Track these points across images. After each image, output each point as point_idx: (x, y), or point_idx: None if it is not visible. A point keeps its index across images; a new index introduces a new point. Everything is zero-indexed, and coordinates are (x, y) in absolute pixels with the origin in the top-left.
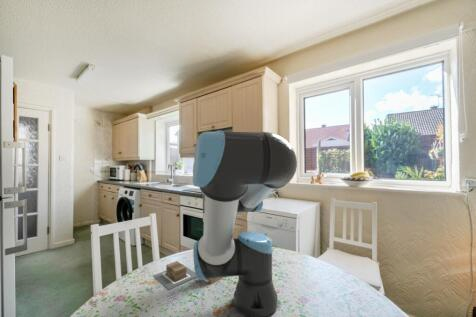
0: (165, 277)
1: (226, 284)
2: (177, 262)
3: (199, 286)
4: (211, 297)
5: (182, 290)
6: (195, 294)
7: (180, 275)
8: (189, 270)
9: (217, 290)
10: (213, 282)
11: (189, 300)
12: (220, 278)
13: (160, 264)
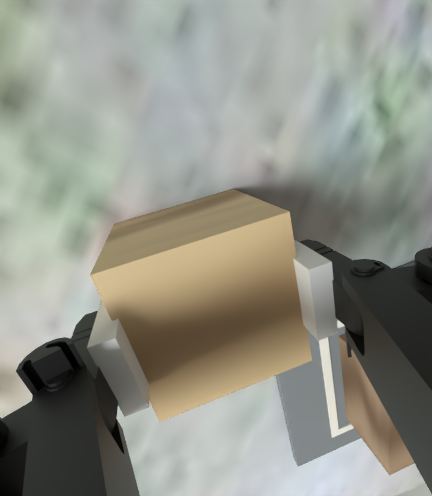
0: None
1: (114, 115)
2: (396, 457)
3: (310, 205)
4: (305, 6)
5: (404, 214)
6: (371, 125)
7: None
8: (294, 395)
9: (224, 73)
10: (210, 196)
11: (427, 80)
12: (136, 220)
13: (371, 483)
